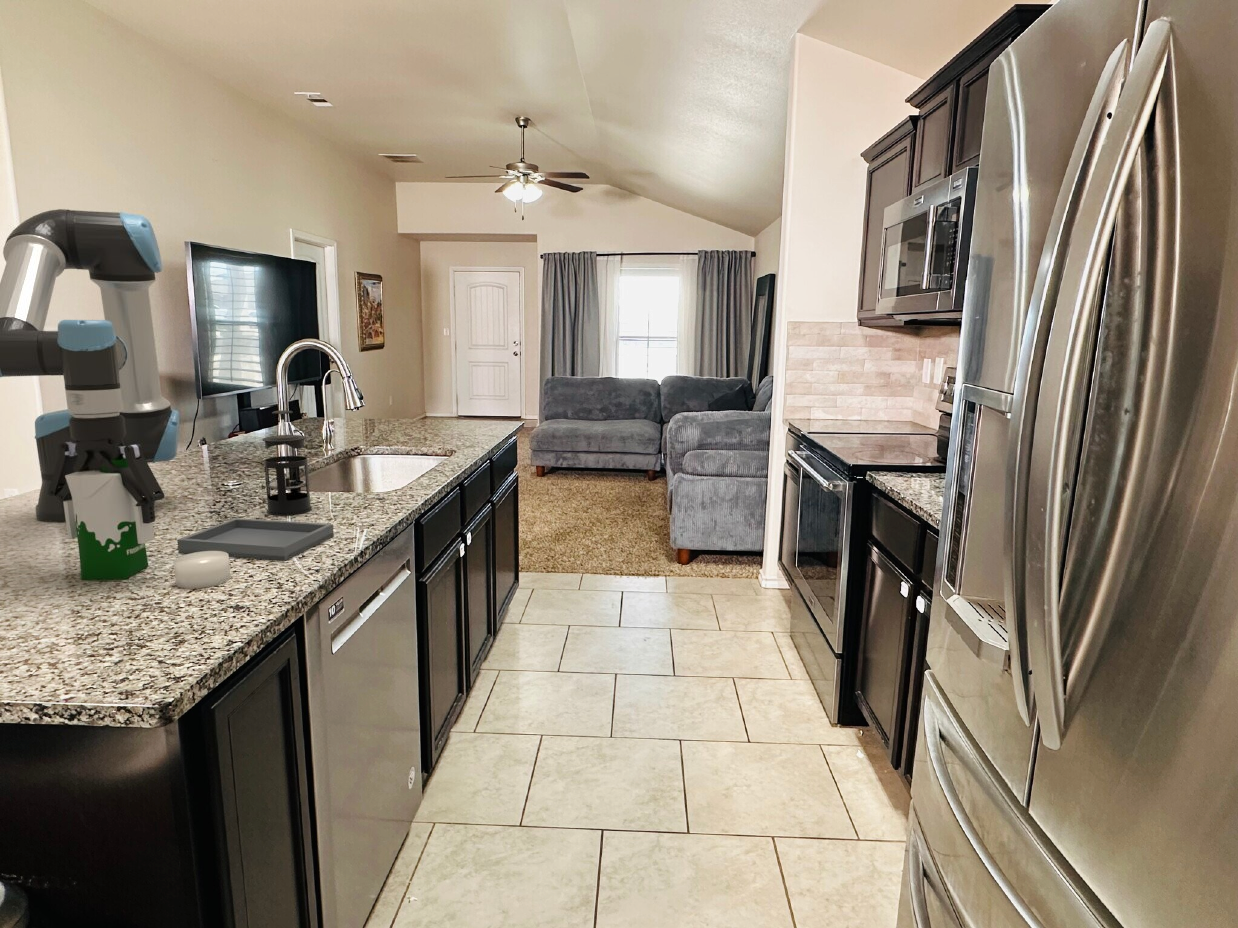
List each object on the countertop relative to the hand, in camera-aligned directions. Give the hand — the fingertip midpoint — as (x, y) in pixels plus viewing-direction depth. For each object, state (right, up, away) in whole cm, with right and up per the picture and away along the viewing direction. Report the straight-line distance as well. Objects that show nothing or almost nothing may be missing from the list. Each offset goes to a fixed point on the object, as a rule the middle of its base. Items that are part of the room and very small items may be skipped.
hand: (111, 539), depth 126 cm
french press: (+11, +2, +44) cm, 46 cm away
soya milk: (0, -6, +1) cm, 6 cm away
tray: (+16, -3, +18) cm, 25 cm away
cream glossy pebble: (+17, -7, -2) cm, 18 cm away
